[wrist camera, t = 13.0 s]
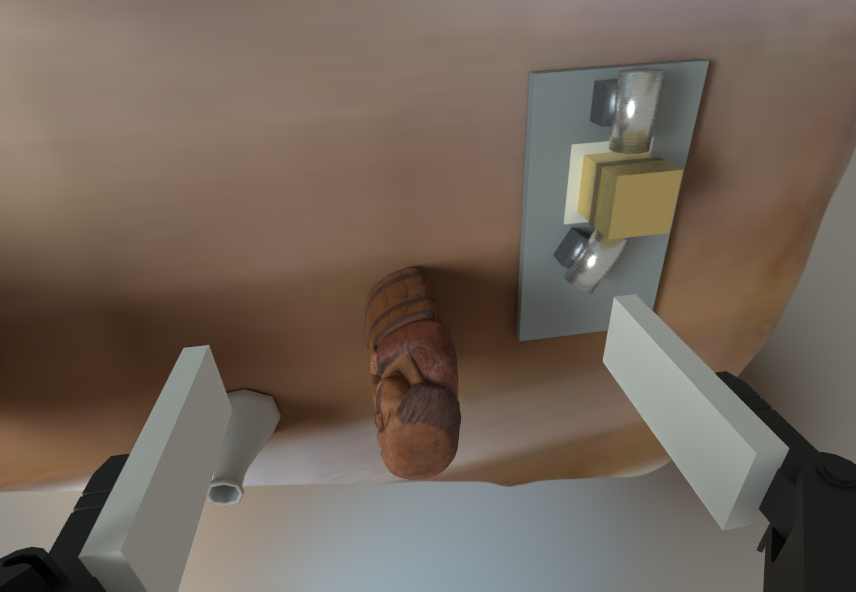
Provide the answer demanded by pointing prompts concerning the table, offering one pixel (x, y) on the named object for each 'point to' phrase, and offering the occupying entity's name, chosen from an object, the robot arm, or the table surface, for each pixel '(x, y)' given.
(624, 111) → the shaft
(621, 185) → the block
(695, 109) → the base plate
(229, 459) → the flask
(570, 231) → the shaft
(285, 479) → the table surface
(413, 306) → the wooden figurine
